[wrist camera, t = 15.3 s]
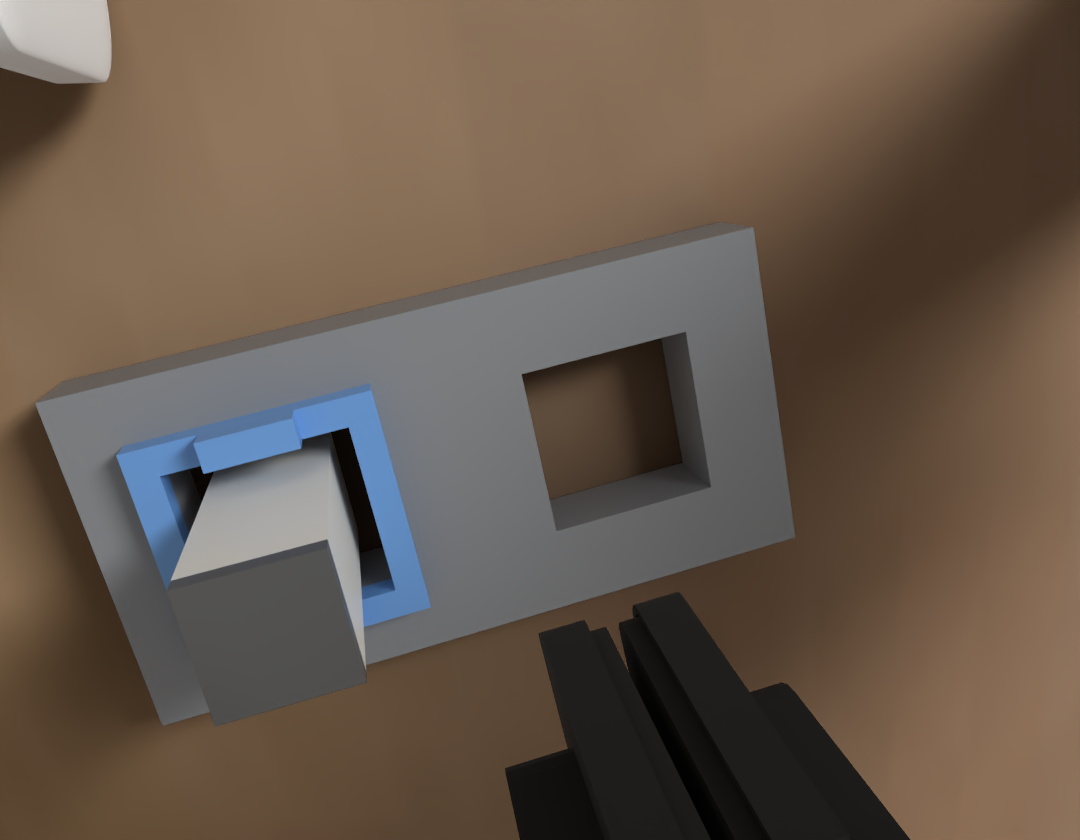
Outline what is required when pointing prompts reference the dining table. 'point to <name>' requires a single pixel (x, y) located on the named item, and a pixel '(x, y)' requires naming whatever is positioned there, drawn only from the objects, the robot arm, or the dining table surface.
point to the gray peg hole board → (446, 444)
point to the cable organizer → (56, 39)
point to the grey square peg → (272, 584)
